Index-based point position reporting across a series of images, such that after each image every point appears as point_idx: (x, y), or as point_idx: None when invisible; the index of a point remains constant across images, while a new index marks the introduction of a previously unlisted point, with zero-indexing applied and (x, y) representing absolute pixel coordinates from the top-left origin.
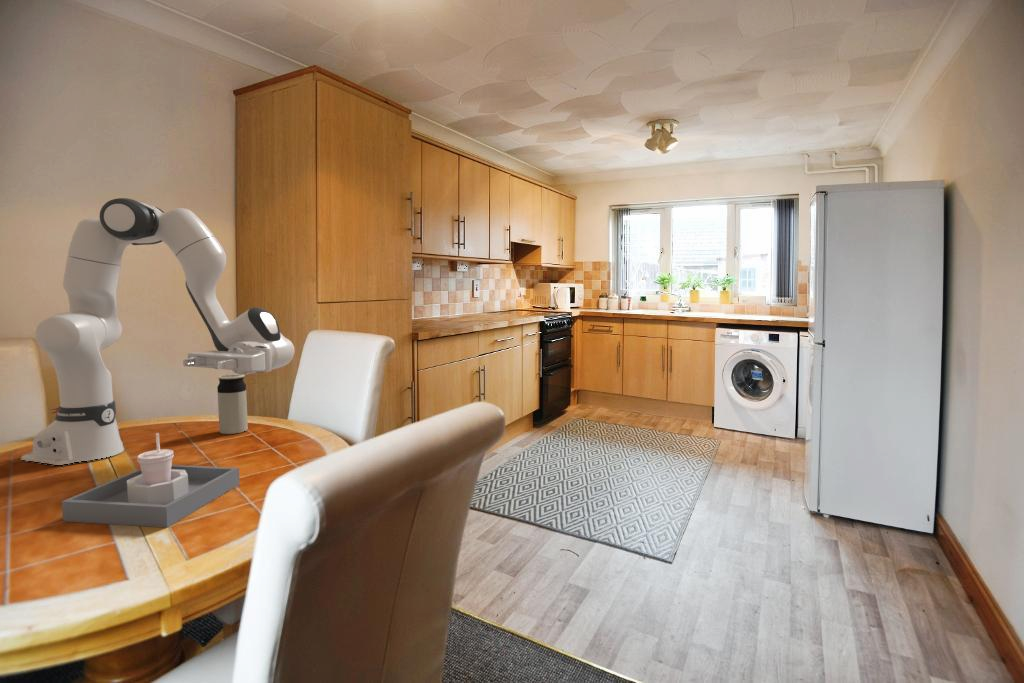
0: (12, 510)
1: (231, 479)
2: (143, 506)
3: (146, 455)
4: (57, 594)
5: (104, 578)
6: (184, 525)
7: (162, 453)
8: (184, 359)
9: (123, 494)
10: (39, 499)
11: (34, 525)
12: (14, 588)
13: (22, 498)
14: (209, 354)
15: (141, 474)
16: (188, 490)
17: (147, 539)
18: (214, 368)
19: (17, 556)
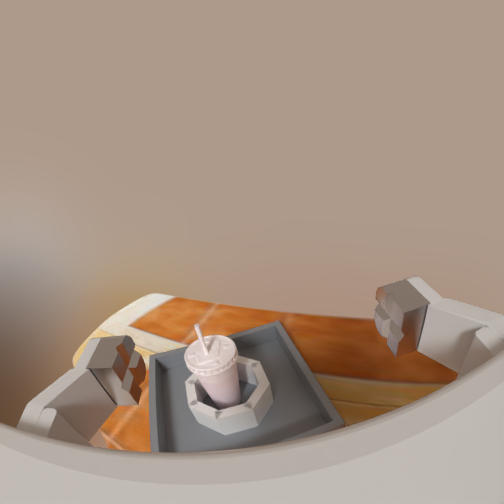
0: (363, 320)
1: None
2: (176, 349)
3: (214, 341)
4: (157, 307)
5: (144, 321)
6: (145, 379)
7: (196, 353)
8: (414, 277)
9: (291, 384)
10: (382, 336)
11: (296, 324)
12: (189, 300)
13: None
14: (420, 405)
15: (265, 379)
16: (196, 419)
17: None
18: (144, 370)
19: (236, 308)
